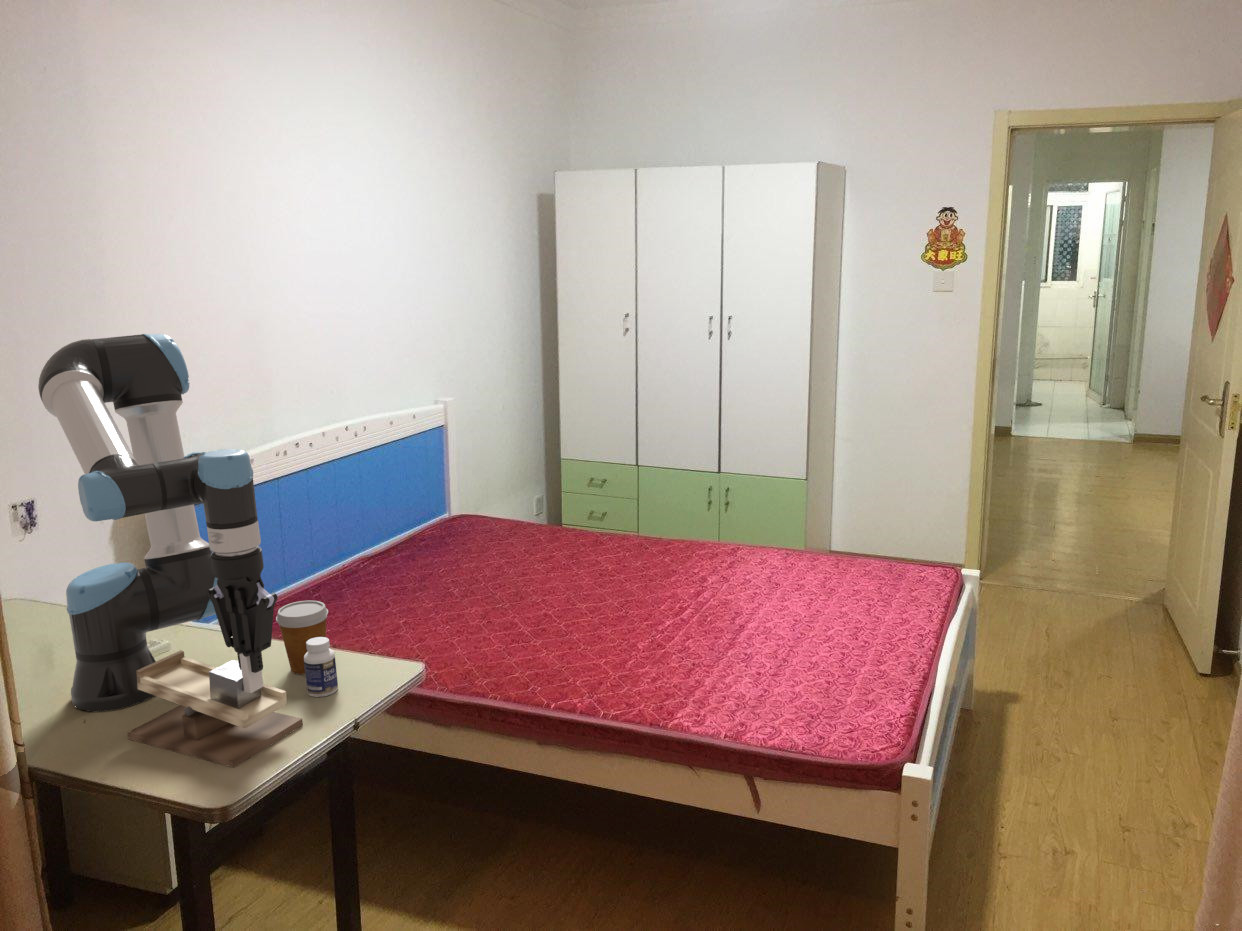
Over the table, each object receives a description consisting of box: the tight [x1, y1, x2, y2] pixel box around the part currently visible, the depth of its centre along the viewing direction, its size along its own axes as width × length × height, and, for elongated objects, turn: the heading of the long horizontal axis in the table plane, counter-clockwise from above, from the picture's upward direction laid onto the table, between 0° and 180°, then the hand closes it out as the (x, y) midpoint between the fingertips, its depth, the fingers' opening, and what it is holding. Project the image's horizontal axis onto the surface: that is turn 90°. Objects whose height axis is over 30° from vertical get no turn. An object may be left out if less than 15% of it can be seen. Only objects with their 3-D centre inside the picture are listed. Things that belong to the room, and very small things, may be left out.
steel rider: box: [209, 659, 261, 709], centre depth 164 cm, size 6×5×5 cm
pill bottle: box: [304, 636, 339, 698], centre depth 182 cm, size 5×5×10 cm
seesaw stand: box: [127, 705, 304, 768], centre depth 169 cm, size 24×15×5 cm, turn 64°
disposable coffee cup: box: [275, 600, 329, 675], centre depth 192 cm, size 10×10×12 cm
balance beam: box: [136, 649, 288, 729], centre depth 167 cm, size 24×10×4 cm, turn 64°
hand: (254, 688), depth 163 cm, fingers closed
